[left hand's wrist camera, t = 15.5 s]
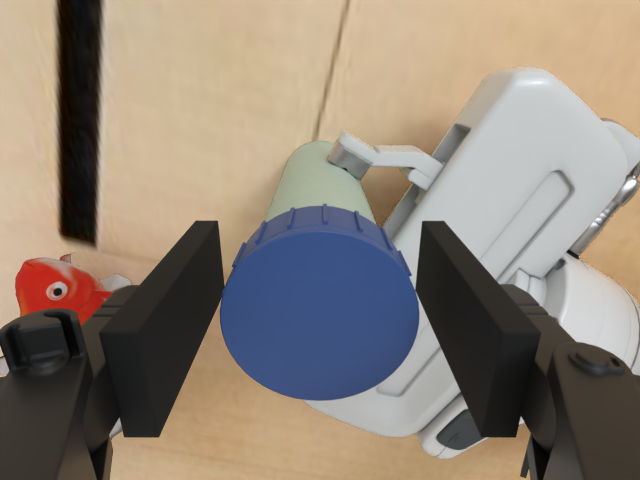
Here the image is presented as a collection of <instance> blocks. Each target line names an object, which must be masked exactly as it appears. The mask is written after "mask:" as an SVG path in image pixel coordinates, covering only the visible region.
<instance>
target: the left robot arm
mask: <svg viewBox="0 0 640 480" xmlns="http://www.w3.org/2000/svg"><path fill="white" fill-rule="evenodd" d="M223 289H224V277H223V267H222V257H221V247H220V237H219V227H218V221H195V222H194V224H193V225H192V226H191V227H190V228H189V229H188V230H187V232H186V233H185V234H184V235H183V236H182V237H181V239H180V240H179V241H178V242H177V243H176V244H175V245H174V247H173V248H172V249H171V250H170V251H169V252H168V253H167V255H166V256H165V257H164V258H163V259H162V260H161V261H160V263H159V264H158V265H157V266H156V267H155V268H154V270H153V271H152V272H151V273H150V274H149V275H148V276H147V278H146V279H145V280H144V281H143V282H142V283H141V284H140V285H127V286H126V287H124V288H122V289H120V290H119V291H117V292H115V293H113V294H112V295H110V296H109V297H108V299H107V300H106V301H105V302H104V303H103V304H102V305H101V308H98V309H97V310H96V311H95V312H94V313H93V314H92V317H89V318H88V319H87V320H86V321H85V322H84V323H83V324H82V325H80V321H79V317H78V313H76V312H74V311H73V310H71V309H65V308H53V309H45V310H41V311H36V312H32V313H29V314H27V315H24V316H22V317H19V318H17V319H15V320H13V321H11V322H10V323H8V324H6V325H5V326H3V327H2V328H1V329H0V346H1V349H2V352H3V355H4V357H5V360H6V363H7V366H8V368H9V372H8V374H7V376H5V377H0V480H110V472H111V463H112V455H113V448H112V442H111V438H110V435H109V434H110V433H111V431H112V429H113V428H114V426H115V424H116V423H117V421H118V419H119V418H120V422H121V426H122V430H123V434H124V437H159V436H160V434H161V431H162V429H163V427H164V425H165V423H166V420H167V418H168V416H169V414H170V411H171V409H172V407H173V405H174V402H175V400H176V398H177V396H178V394H179V391H180V389H181V387H182V385H183V382H184V380H185V378H186V376H187V374H188V371H189V369H190V367H191V365H192V362H193V360H194V358H195V356H196V353H197V351H198V349H199V347H200V345H201V342H202V340H203V338H204V336H205V333H206V331H207V329H208V327H209V325H210V322H211V320H212V318H213V316H214V313H215V311H216V309H217V307H218V304H219V302H220V300H221V298H222V296H221V295H222V291H223ZM415 291H416V293H417V296H418V298H419V300H420V302H421V304H422V307H423V309H424V311H425V313H426V316H427V318H428V320H429V322H430V325H431V327H432V329H433V331H434V333H435V336H436V338H437V340H438V342H439V345H440V347H441V349H442V351H443V353H444V356H445V358H446V360H447V362H448V365H449V367H450V369H451V371H452V374H453V376H454V378H455V380H456V382H457V385H458V387H459V389H460V391H461V394H462V396H463V398H464V400H465V402H466V405H467V407H468V409H469V411H470V414H471V416H472V418H473V420H474V423H475V425H476V427H477V429H478V431H479V434H480V436H481V437H516V434H517V430H518V426H519V422H520V418H521V417H522V419H523V420H524V422H525V424H526V425H527V427H528V429H529V431H530V432H531V435H530V438H529V442H528V446H527V450H526V454H525V457H524V461H523V465H522V469H521V475H520V476H521V477H524V478H526V476H527V473H528V469H529V471H530V479H531V480H640V376H639V375H635V374H633V373H632V371H631V369H630V368H629V367H628V366H627V365H626V363H625V362H624V361H623V360H621V359H620V358H618V357H617V356H616V355H614V354H613V353H611V352H609V351H606V350H604V349H602V348H600V347H598V346H594V345H590V344H587V343H583V342H576V341H575V340H574V339H573V338H572V337H571V336H570V335H569V334H568V333H567V332H566V331H565V330H564V329H563V328H562V327H561V326H560V325H559V324H558V323H557V321H556V320H555V319H554V318H553V317H552V316H551V315H548V312H547V311H546V310H545V309H544V308H543V307H542V306H540V304H539V303H538V302H537V301H536V300H535V299H534V298H533V297H532V296H531V295H530V294H529V293H528V292H526V291H524V290H522V289H521V288H519V287H517V286H515V285H513V284H499V283H498V282H497V281H496V280H495V279H494V278H493V276H492V275H491V274H490V273H489V272H488V271H487V270H486V268H485V267H484V266H483V265H482V264H481V263H480V261H479V260H478V259H477V258H476V257H475V256H474V255H473V253H472V252H471V251H470V250H469V249H468V248H467V247H466V245H465V244H464V243H463V242H462V241H461V240H460V239H459V237H458V236H457V235H456V234H455V233H454V232H453V230H452V229H451V228H450V227H449V226H448V225H447V224H446V222H445V221H422V227H421V237H420V247H419V257H418V267H417V277H416V287H415Z"/></svg>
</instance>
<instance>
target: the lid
mask: <svg viewBox="0 0 640 480" xmlns="http://www.w3.org/2000/svg"><path fill="white" fill-rule="evenodd" d="M232 267H233V270H232V272H231V274H230V276H229V278H228V280H227V283H226V285H225V287H224V289H223V291H222V295H221V296H223V297H222V300H221V307H220V324H221V329H222V334H223V337H224V340H225V343H226V346H227V348H228V350H229V352H230V354H231V355H232V357H233V358H234V360H235V361H236V362H237V364H238V365H239V366H240V367H241V368H242V369H243V370H244V372H246V373H247V374H248V375H249V376H250V377H251V378H253V379H254V380H255V381H257V382H258V383H260V384H261V385H263V386H265V387H266V388H268V389H270V390H272V391H275V392H277V393H280V394H282V395H285V396H289V397H293V398H297V399H303V400H313V401H326V400H336V399H343V398H347V397H351V396H354V395H357V394H360V393H362V392H365V391H367V390H369V389H371V388H373V387H375V386H377V385H378V384H380V383H381V382H383V381H384V380H386V379H387V378H388V377H389V376H390V375H392V374H393V373H394V372H395V371H396V370H397V369H398V368H399V367H400V365H401V364H402V363H403V362H404V360H405V359H406V357H407V356H408V354H409V352H410V350H411V349H412V347H413V344H414V341H415V339H416V336H417V332H418V327H419V302H418V299H417V295H416V291H415V289H414V286H413V284H412V282H411V280H410V278H409V277H410V276H412V274H411V272H410V270H409V267H408V265H407V263H406V261H405V259H404V257H403V255H402V253H401V250H399V251H397V249H396V247H395V245H394V244H393V242H392V241H391V239H390V238H389V237H388V236H387V233H386V231H385V229H384V228H383V227H381V228H379V227H378V226H377V225H376V224H375V223H373V222H372V221H370V220H369V219H367V218H366V217H363V216H361V215H359V211H356V210H355V212H352V211H349V210H346V209H343V208H338V207H333V206H327V204H323V206H307V207H302V208H296V209H295V208H294V207H292V208H290V211H287V212H284V213H282V214H280V215H278V216H276V217H274V218H272V219H271V220H269V221H268V222H266V221H263V222H262V224H261V227H260V228H259V229H258V230H257V231H256V232H255V233H254V234H253V235H252V236H251V237H250V239H249V240H248V242H247V243H244V242H243V244H242V246H241V248H240V250H239V252H238V254H237V257H236V259H235V261H234V263H233V265H232Z"/></svg>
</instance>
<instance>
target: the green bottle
mask: <svg viewBox="0 0 640 480" xmlns="http://www.w3.org/2000/svg"><path fill="white" fill-rule="evenodd" d="M333 145H334V144H333V143H330V142H326V141H314V142H309V143H307V144H304V145H302V146H301V147H299V148H298V149H297V150H296V151H295V152H294V153H293V154H292V155H291V157H290V158H289V160H288V162H287V164H286V167H285V170H284V172H283V175H282V177H281V180H280V182H279V185H278V188H277V190H276V193H275V195H274V198H273V200H272V203H271V206H270V208H269V211H268V213H267V216H266V218H265V221H266V222H268V221H269V220H271V219H272V218H274V217H276V216H278V215H280V214H282V213H284V212H287V211H290V208H292V207H294V208H295V209H296V208H302V207H307V206H323V204H327V206H333V207H338V208H343V209H346V210H349V211H352V212H355V210H356V211H359V215H361V216H363V217H366V218H367V219H369V220H370V221H372V222H373V223H375V224H376V222H375V219H374V217H373V214H372V212H371V209H370V207H369V204H368V201H367V199H366V196H365V194H364V191H363V188H362V186H361V183H360V181H359V179H357V178H356V177H354V176H352V175H351V174H349V173H348V171H347V169H346V168H339V167H337V166H335V165H334V164H332V163H331V162H330V161H329V160H328V154H329V153H330V151H331V149H332V147H333Z"/></svg>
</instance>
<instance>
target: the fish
mask: <svg viewBox="0 0 640 480" xmlns="http://www.w3.org/2000/svg"><path fill="white" fill-rule="evenodd" d="M74 253H75V252H74ZM127 285H131V281H130V280H128V279H127V278H125V277H123V276H121V275H118V274H114V275H111V276H109V277H108V278H106V279H101V280H99V279H98V278H97V277H96V276H95V275H94V274H93V273H91V272H90V271H88V270H86V269H84V268H82V267H79V266H76V265H73V264H71V259H70V254H67V255H64V256H62V257H60V260H55V259H50V258H35V259H30V260H27V261H25V262H24V263H23V265H22V267H21V269H20V271H19V272H18V274H17V276H16V283H15V288H16V296H17V300H18V303H19V307H20V312H21V314H20V317H22V316H24V315H27V314H29V313H32V312H36V311H41V310H45V309H53V308H65V309H71V310H73V311H74V312H76V313H78V317H79V321H80V325H82V324H83V323H84V322H85V321H86V320H87V319H88V318H89V317H92V314H93V313H94V312H95V311H96V310H97V309H98V308H101V305H102V304H103V303H104V302H105V301H106V300H107V299H108V297H109V296H110V295H112V294H113V292H115V291H117V290H119V289H122V288H124V287H126V286H127ZM8 372H9V368H8V366H7V363H6V360H5V357H4V356H2V357H0V375H2V374H8ZM121 431H123V430H122V426H121V422H120V418H119V419H118V421H117V423H116V424H115V426H114V428H113V429H112V431H111V433H110V434H109V435H110V438H111V439H112V438H113V437H114V436H115V435H116V434H118V433H120V432H121Z"/></svg>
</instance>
